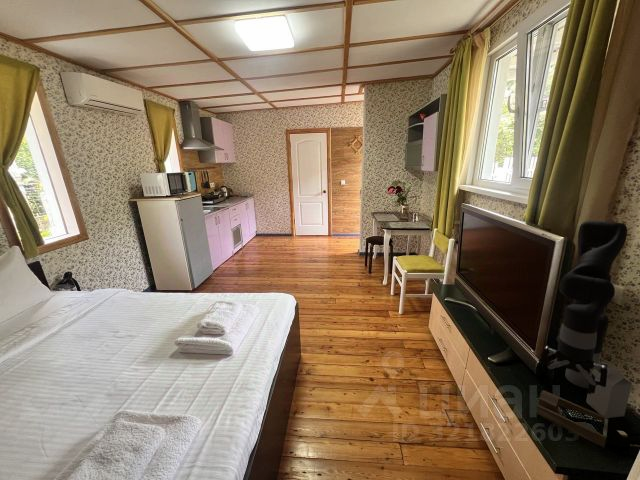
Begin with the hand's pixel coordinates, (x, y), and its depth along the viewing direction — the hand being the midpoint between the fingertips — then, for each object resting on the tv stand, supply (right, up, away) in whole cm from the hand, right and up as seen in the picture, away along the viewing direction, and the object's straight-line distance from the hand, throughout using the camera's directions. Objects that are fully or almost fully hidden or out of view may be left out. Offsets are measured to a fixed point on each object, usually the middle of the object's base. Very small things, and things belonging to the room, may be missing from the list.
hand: (569, 384), depth 80 cm
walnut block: (+12, -20, +21) cm, 32 cm away
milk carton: (+32, -21, +20) cm, 43 cm away
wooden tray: (+16, -23, +17) cm, 33 cm away
